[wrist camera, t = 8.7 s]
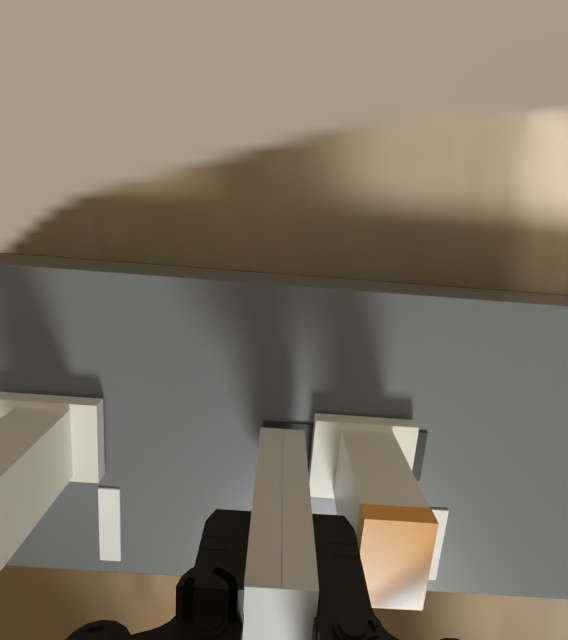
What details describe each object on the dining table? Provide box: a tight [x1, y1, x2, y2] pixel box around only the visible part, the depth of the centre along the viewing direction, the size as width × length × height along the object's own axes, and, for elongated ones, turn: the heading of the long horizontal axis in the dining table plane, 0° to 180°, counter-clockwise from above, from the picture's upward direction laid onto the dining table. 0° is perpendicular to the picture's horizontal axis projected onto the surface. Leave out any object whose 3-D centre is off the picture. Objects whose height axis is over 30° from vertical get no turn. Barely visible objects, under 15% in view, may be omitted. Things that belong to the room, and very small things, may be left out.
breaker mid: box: [308, 413, 439, 611], centre depth 14 cm, size 4×3×5 cm
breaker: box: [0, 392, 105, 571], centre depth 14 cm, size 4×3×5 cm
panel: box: [0, 253, 568, 599], centre depth 18 cm, size 33×12×3 cm, turn 86°
